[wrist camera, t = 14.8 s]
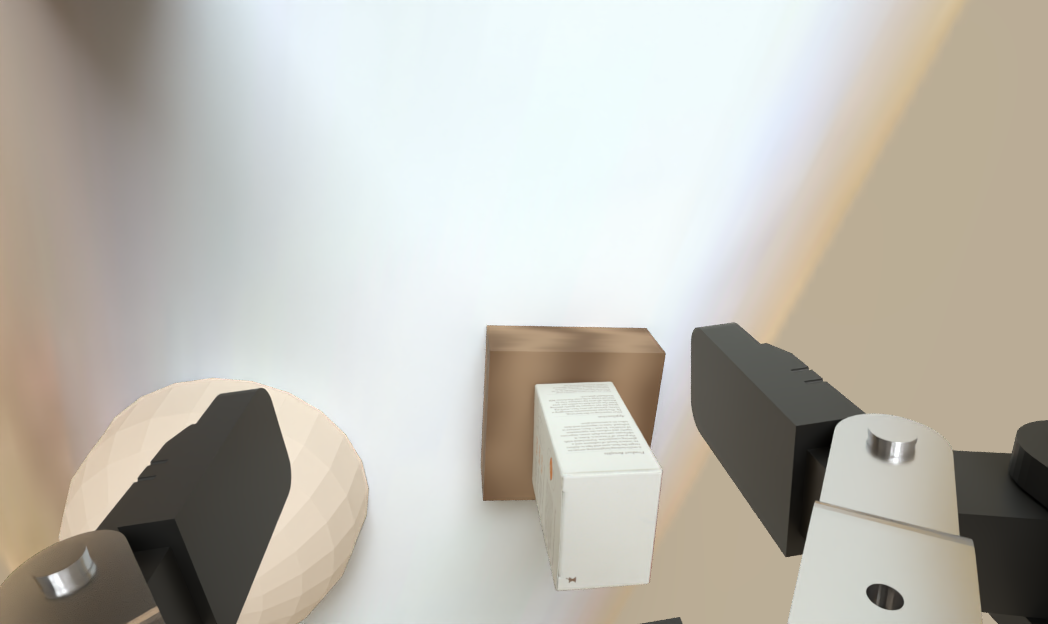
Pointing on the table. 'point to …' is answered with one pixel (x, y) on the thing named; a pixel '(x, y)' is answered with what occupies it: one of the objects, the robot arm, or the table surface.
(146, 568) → the robot arm
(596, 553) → the small box
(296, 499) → the kettle
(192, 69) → the table surface
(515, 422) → the walnut block
